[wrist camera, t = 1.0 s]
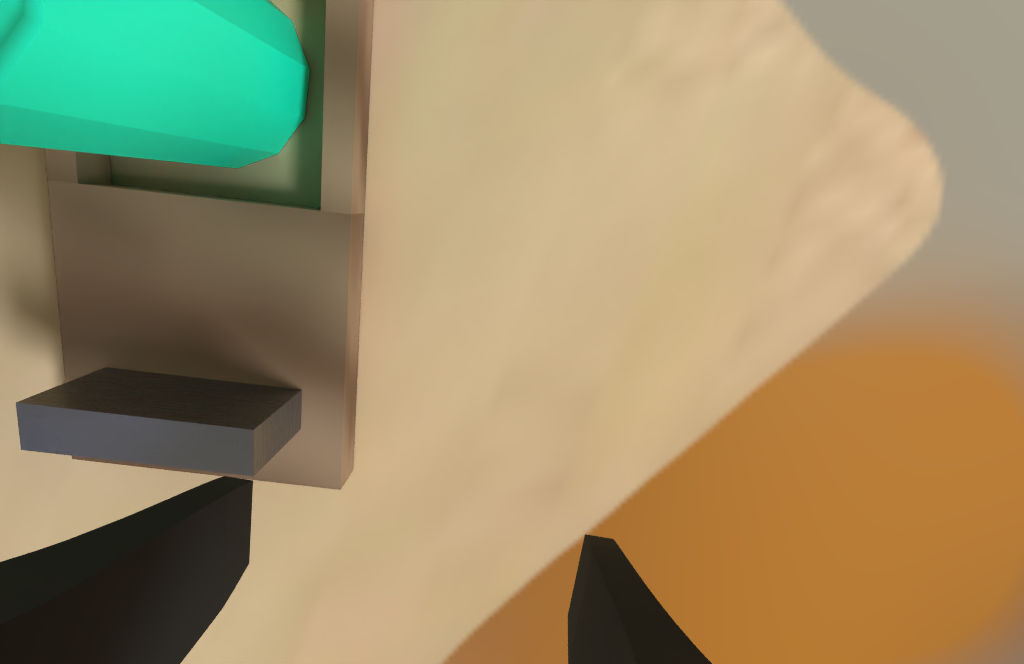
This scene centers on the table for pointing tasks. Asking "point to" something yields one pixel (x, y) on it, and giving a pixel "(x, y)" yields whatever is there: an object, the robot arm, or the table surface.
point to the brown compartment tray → (214, 309)
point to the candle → (151, 78)
